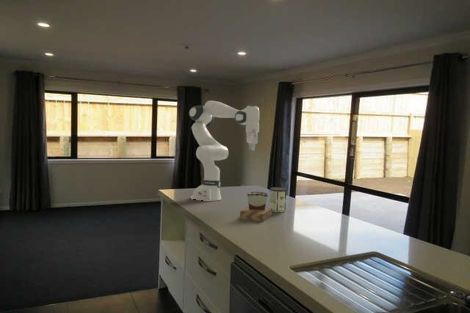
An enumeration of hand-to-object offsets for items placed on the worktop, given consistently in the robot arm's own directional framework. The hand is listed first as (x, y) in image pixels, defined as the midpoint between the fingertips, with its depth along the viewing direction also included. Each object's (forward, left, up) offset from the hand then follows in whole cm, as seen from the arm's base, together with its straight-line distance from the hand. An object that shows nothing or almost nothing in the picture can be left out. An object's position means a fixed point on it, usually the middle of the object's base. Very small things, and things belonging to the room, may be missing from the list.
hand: (251, 150), depth 232 cm
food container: (+10, -30, -33) cm, 46 cm away
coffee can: (+20, -10, -37) cm, 44 cm away
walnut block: (+10, -32, -38) cm, 50 cm away
